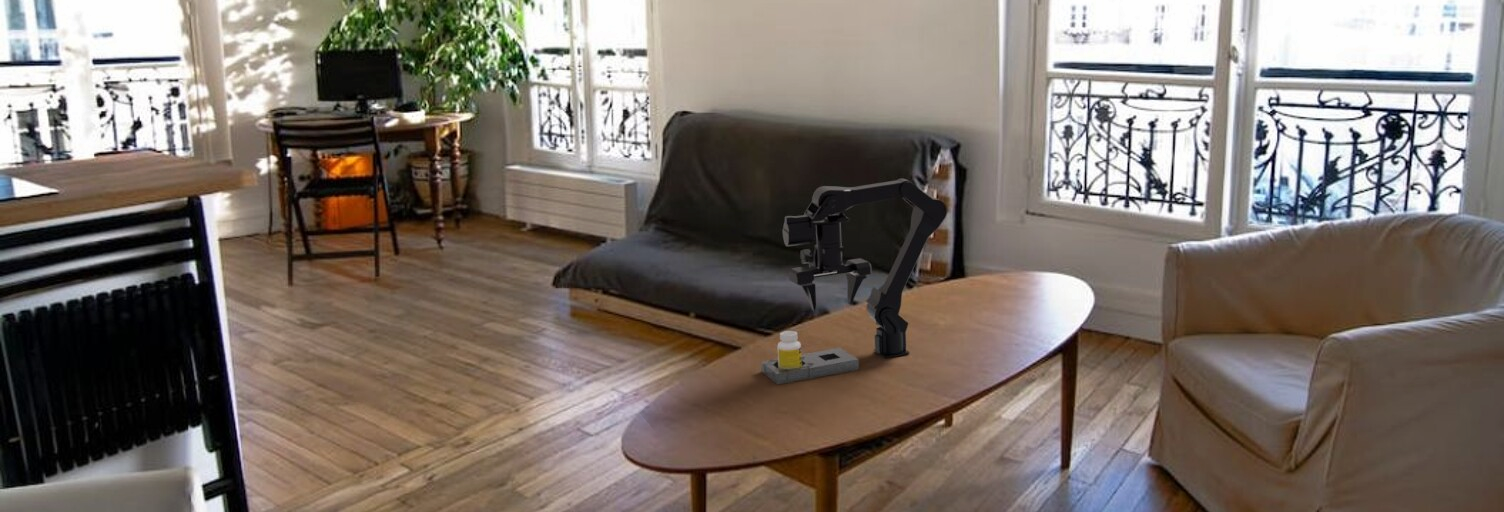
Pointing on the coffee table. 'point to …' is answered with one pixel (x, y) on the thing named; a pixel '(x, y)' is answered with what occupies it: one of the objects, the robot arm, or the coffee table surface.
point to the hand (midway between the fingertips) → (831, 307)
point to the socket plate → (812, 366)
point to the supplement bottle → (789, 351)
